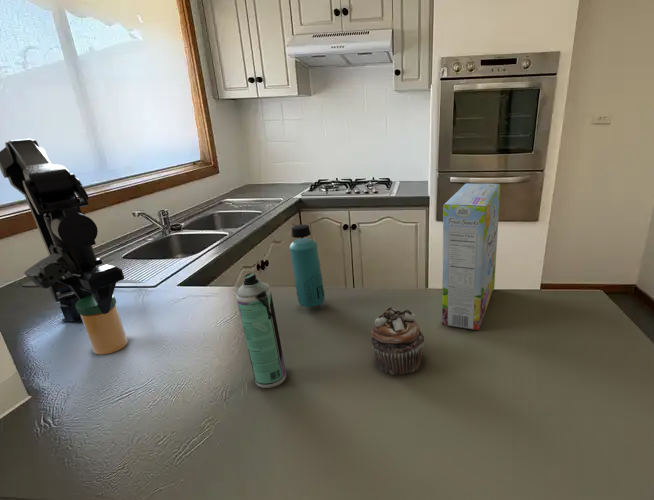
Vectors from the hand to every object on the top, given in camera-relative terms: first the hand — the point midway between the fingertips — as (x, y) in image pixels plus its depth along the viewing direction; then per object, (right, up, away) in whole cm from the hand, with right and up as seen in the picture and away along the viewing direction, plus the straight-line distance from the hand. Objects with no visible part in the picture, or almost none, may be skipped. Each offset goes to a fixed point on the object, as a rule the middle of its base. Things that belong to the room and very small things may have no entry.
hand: (97, 309), depth 87 cm
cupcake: (+61, -9, -10) cm, 63 cm away
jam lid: (0, +2, -1) cm, 2 cm away
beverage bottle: (+42, -1, +14) cm, 44 cm away
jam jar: (0, -8, +4) cm, 9 cm away
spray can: (+39, -11, -11) cm, 42 cm away
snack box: (+79, 0, +8) cm, 79 cm away
